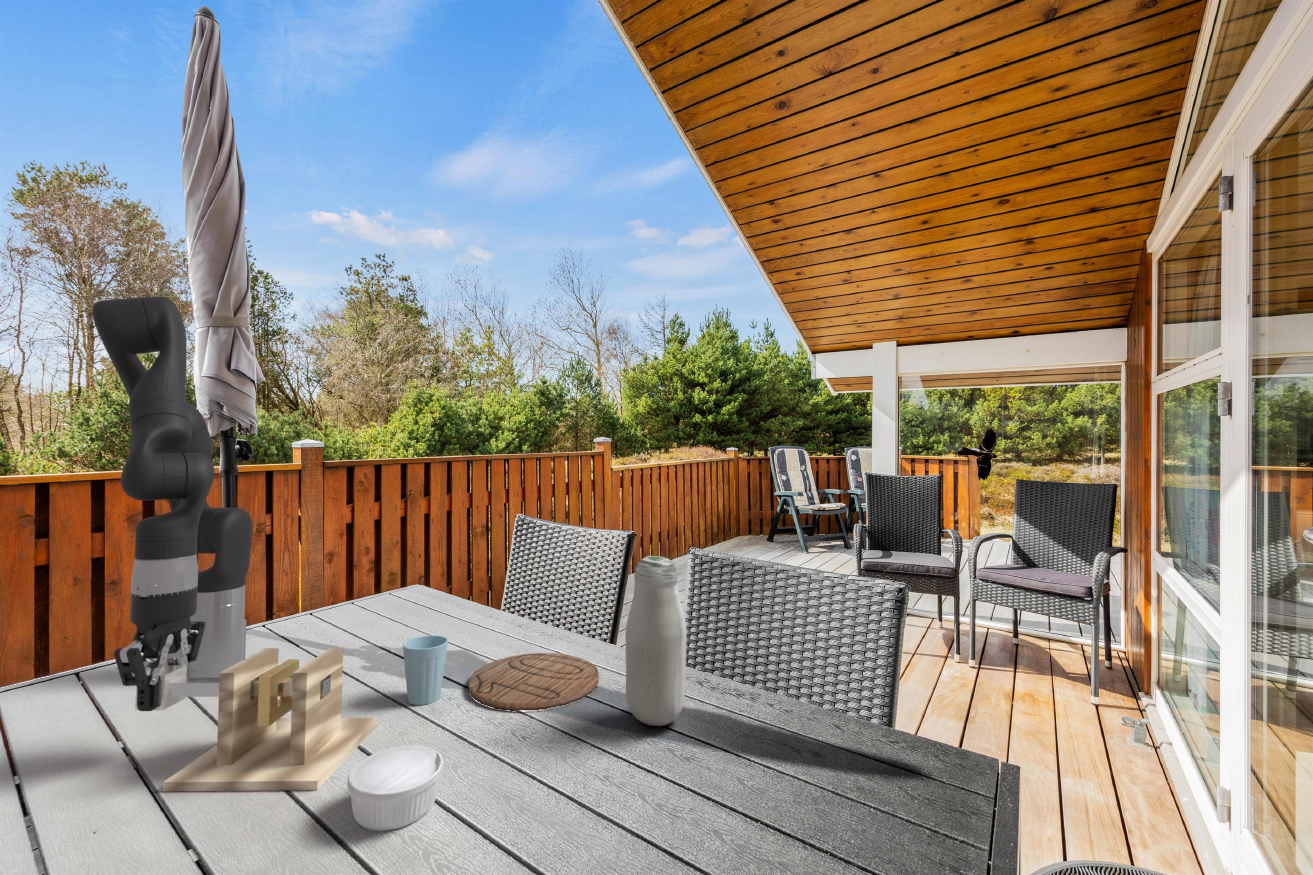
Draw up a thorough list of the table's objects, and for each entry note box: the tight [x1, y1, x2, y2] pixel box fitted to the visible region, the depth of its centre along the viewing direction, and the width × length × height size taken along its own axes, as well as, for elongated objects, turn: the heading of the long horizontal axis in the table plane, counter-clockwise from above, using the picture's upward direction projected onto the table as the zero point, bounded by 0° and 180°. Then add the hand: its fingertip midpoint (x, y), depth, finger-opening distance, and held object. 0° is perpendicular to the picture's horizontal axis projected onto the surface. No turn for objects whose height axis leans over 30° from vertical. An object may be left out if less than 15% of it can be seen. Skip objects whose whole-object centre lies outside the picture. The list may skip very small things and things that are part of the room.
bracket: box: [162, 647, 379, 792], centre depth 85 cm, size 20×18×14 cm
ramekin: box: [347, 744, 444, 832], centre depth 73 cm, size 11×11×5 cm
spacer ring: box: [257, 658, 300, 727], centre depth 85 cm, size 2×7×7 cm, turn 2°
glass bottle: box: [624, 555, 687, 727], centre depth 97 cm, size 10×10×28 cm
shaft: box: [134, 665, 331, 711], centre depth 84 cm, size 26×4×5 cm, turn 92°
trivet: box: [468, 652, 600, 711], centre depth 112 cm, size 25×25×2 cm
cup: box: [402, 634, 449, 706], centre depth 104 cm, size 8×8×10 cm
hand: (160, 702), depth 84 cm, fingers closed on shaft, 4 cm apart
